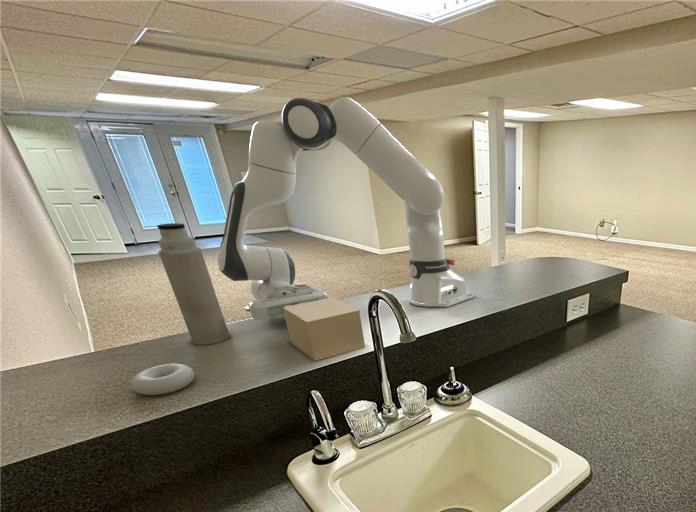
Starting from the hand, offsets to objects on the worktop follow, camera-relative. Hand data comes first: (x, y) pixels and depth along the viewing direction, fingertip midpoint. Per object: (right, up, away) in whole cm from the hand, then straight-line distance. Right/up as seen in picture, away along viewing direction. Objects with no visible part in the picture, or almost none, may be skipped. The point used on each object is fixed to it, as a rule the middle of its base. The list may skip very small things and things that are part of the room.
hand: (301, 311), depth 109 cm
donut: (-14, -20, -26) cm, 36 cm away
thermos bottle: (-21, -8, -4) cm, 23 cm away
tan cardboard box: (+10, -10, -6) cm, 15 cm away
